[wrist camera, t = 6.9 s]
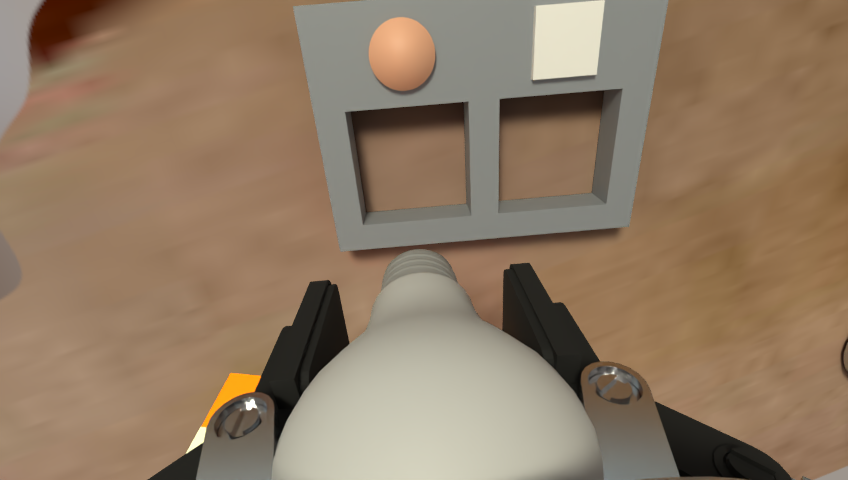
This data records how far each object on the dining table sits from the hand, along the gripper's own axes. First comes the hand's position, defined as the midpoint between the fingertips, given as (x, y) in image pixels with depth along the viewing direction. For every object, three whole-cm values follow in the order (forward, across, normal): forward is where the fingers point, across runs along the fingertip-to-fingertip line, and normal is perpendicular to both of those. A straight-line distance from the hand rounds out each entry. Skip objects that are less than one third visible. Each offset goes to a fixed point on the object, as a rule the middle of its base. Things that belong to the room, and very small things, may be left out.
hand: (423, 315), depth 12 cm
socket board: (+19, -5, -2) cm, 20 cm away
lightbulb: (+3, 0, 0) cm, 3 cm away
